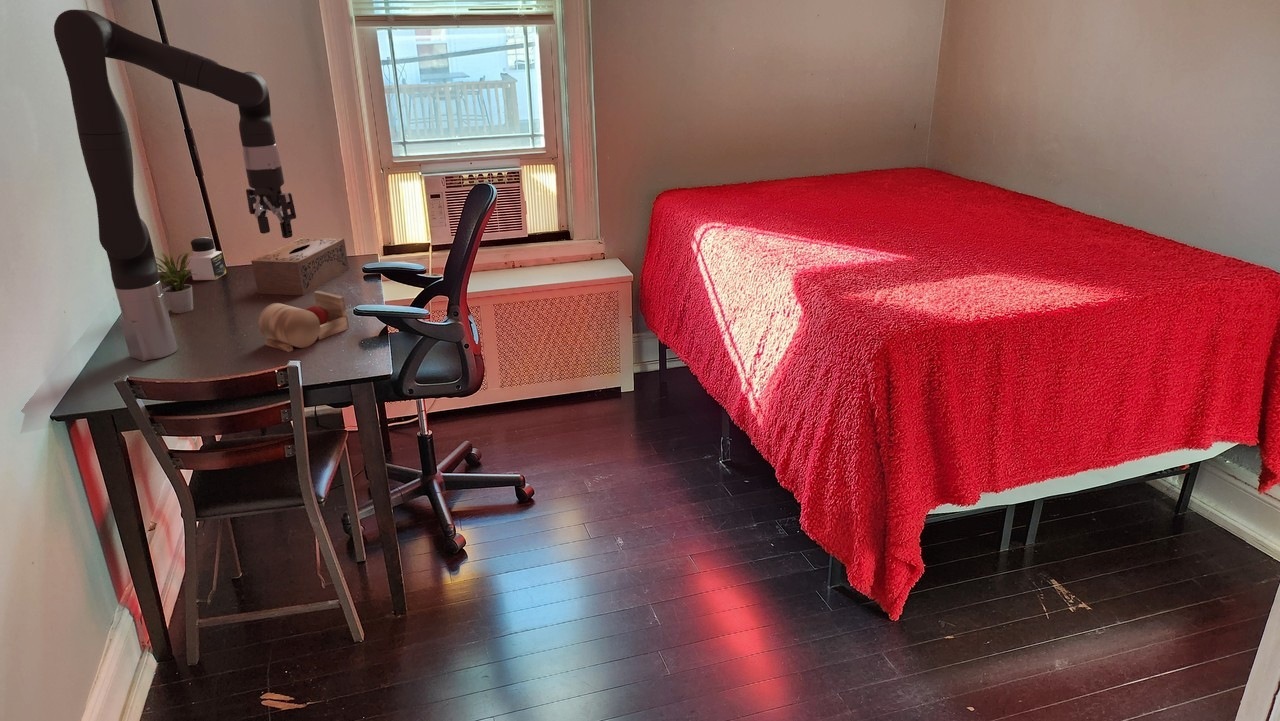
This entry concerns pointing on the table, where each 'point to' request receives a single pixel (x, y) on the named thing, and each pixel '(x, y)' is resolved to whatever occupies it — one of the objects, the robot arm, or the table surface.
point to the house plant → (177, 284)
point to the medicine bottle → (206, 260)
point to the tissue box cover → (300, 266)
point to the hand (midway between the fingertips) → (276, 235)
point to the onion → (319, 313)
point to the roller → (288, 326)
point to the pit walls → (332, 313)
